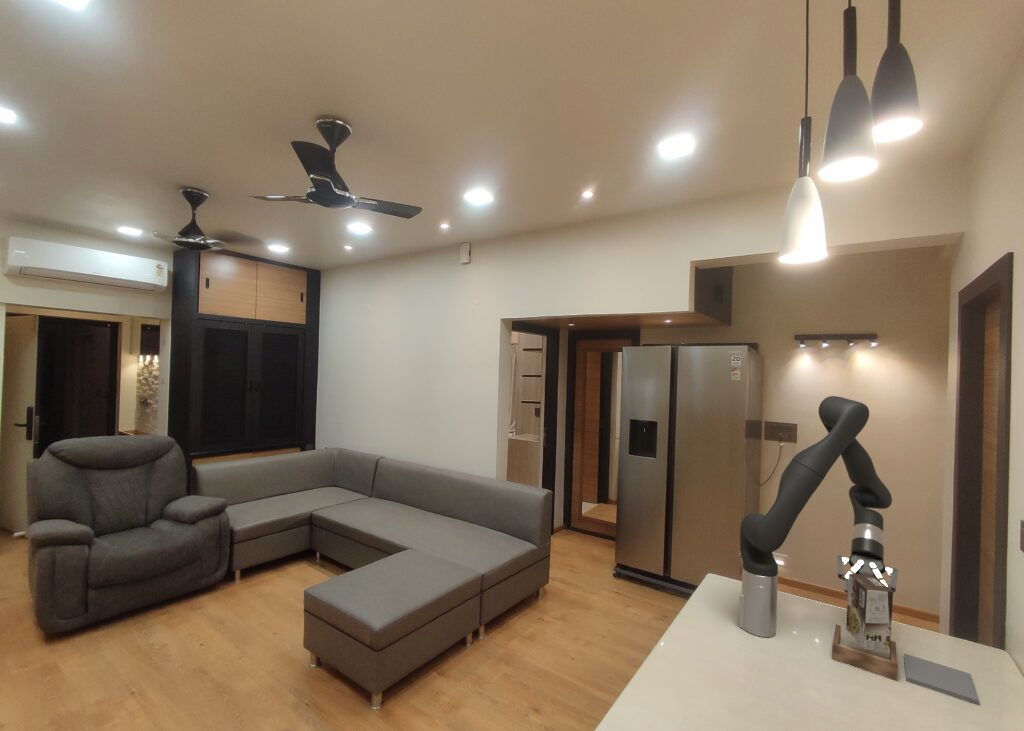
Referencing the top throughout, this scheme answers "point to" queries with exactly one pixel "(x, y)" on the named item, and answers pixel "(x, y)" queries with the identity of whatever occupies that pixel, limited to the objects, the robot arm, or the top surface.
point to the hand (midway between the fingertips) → (865, 598)
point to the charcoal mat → (940, 678)
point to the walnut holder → (865, 658)
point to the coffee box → (869, 611)
